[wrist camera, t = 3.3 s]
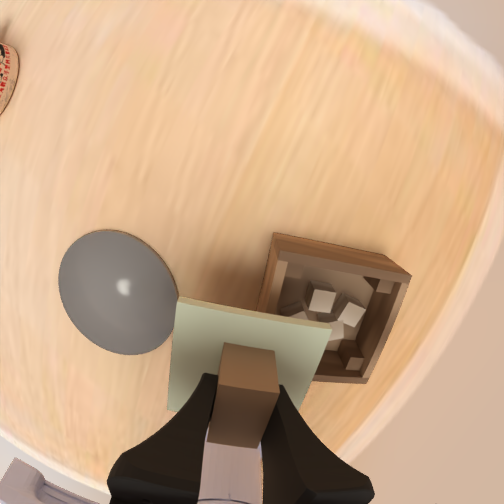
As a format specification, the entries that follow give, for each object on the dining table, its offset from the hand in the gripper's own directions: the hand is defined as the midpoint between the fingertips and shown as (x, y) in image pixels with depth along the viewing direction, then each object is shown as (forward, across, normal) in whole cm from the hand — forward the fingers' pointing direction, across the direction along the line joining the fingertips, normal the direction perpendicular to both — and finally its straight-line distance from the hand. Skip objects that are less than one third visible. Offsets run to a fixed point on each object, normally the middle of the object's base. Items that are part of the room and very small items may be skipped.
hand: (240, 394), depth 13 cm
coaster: (+10, +10, +2) cm, 15 cm away
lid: (+2, 0, 0) cm, 2 cm away
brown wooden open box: (+10, -6, -1) cm, 12 cm away
